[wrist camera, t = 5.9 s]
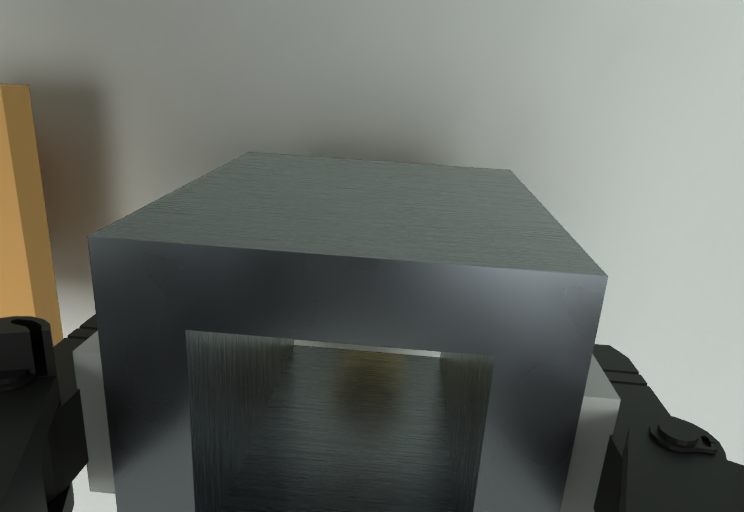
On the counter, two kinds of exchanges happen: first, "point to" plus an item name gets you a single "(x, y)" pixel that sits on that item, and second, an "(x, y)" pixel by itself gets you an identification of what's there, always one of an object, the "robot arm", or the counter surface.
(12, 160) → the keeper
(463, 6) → the counter surface
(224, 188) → the link
